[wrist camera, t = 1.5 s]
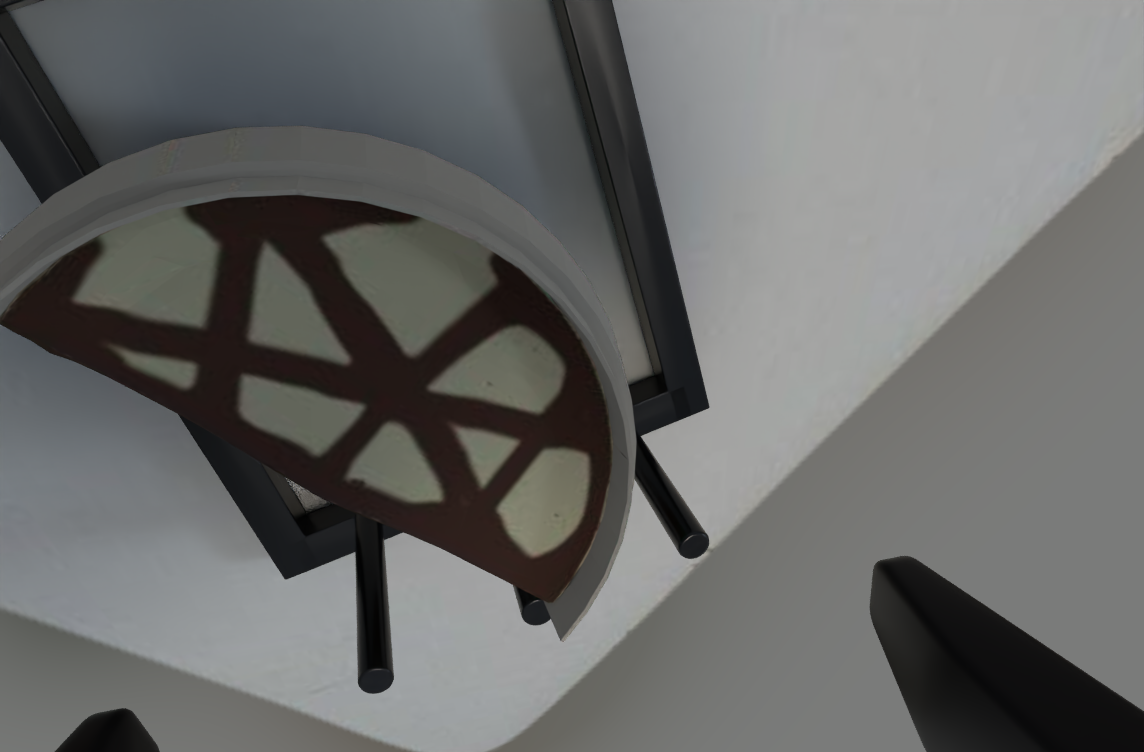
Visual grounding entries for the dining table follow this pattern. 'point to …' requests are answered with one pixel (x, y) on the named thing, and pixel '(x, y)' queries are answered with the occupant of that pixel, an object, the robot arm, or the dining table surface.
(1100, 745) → the robot arm
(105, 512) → the dining table surface
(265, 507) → the drying rack
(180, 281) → the food container
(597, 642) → the dining table surface
